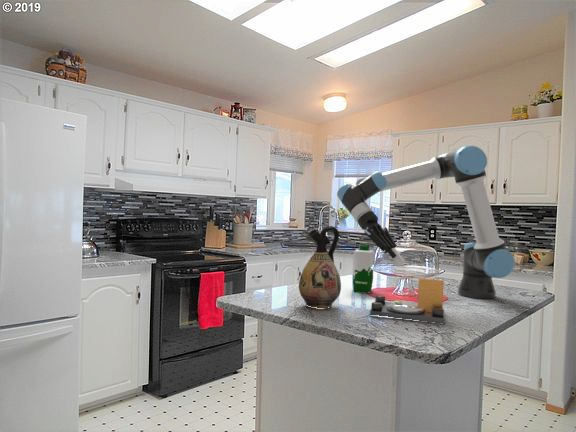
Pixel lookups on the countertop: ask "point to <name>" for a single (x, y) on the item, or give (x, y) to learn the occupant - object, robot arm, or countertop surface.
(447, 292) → the countertop surface
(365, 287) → the milk carton
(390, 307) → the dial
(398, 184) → the robot arm
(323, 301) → the ceramic jug
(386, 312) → the tribrach plate
